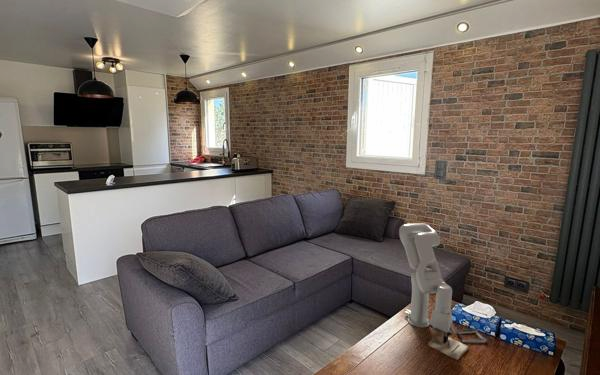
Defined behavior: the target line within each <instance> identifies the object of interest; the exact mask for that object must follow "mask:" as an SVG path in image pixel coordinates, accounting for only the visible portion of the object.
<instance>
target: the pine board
mask: <svg viewBox="0 0 600 375" xmlns="http://www.w3.org/2000/svg"><path fill="white" fill-rule="evenodd" d="M428 346H429V347H431V348H433V349H435V350H437V351H438V352H441V353H442V354H445V355H447V356H448V357H450V358H453V359H454V360H456V361H458V360H459V359H460V358H461V357H462V356H463V355H464V354H465V352H467V351H468V349H469V346H468V345H466V344H464V343H463V342H460V341H458V340H456V339H453V338H451V337H449V336H448V341H447V342H446V343H444V344H443V345H441V346H440V345H438V344H436V343H434V342H432V339H431V340H430V341H428Z"/></svg>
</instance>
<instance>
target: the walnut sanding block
mask: <svg viewBox="0 0 600 375" xmlns="http://www.w3.org/2000/svg"><path fill="white" fill-rule="evenodd" d="M444 336H445V333H444V331H441V330H439V329H437V328H434V329H433V330H432V336H431V340H432V342H434V343H436V344H438V345H440V346H441V345H443V344H444V343H443V341H444Z"/></svg>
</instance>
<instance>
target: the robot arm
mask: <svg viewBox="0 0 600 375" xmlns="http://www.w3.org/2000/svg"><path fill="white" fill-rule="evenodd" d="M398 230H399V231H398V235H399V240H400V241H401V243H402V245H403V247H404V250H405V253H406V258H407V260H408V264H409V267H410V268H411V269H413V270H416V271H415V272H413V273H412V274H411V276H410V278H411V301H410V302H411V304H410V309H408V308H405V309H404V314H405V315H408V316H407V317H406V319H407V322H408V323H409V324H410V325H412V326H414V327H417V328H423V329H424V328H428V327H429V326H430V328H431V330H432V331H433V329H434V328H437V329H439V330H441V331H444V333H445V336H444V341H443V343H446V342H447V341H448V337H449V336H452V335H455V334H456V329H454V327H453V314H452V311H451V310H452V309H451V308H452V296H453V288H452V286H450V285H449V284H447V283H446V282H445V280H444V279H443V276H442V272H441V269H440V267H439V263H438V260H437V258H436V255H435V252H434V248H433V247H438V246H439V245H440V244H441V237H440V235H439V234H438V232H437V231H436V230H435V229H433V228H432V227H431V226H430V225H429V224H427V223H425V222H417V223H414V222H413V223H406V224H402V225H401V226H400V227H399V229H398ZM425 269H427V270H425ZM430 294H435V299H434V300H435V302H434V301H433V302H432V305H433V306H434V307H433V308H432V310H431V314H430V318H428V316H429V303H430V302H429V301H430Z"/></svg>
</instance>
